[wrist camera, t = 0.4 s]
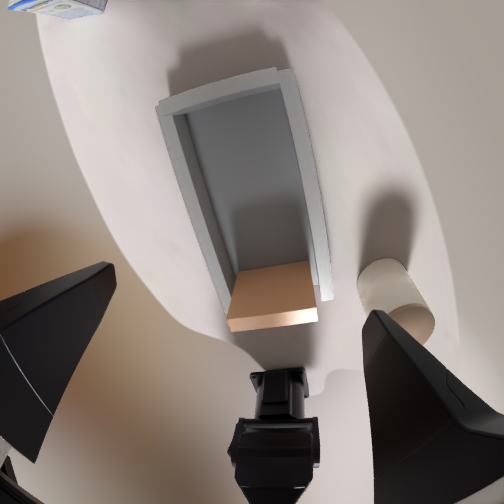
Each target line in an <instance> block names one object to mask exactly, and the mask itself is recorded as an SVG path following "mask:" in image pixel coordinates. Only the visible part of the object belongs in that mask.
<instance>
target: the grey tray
mask: <svg viewBox="0 0 504 504" xmlns="http://www.w3.org/2000/svg"><path fill="white" fill-rule="evenodd" d="M155 109H156V112H157V116H158V119H159V123H160V126H161V130H162V133H163V136H164V140H165V143H166V146H167V150H168V153H169V156H170V159H171V162H172V166H173V169H174V172H175V175H176V178H177V181H178V184H179V187H180V190H181V193H182V197H183V200H184V202H185V205H186V208H187V211H188V214H189V217H190V220H191V223H192V226H193V229H194V232H195V234H196V237H197V240H198V243H199V246H200V248H201V251H202V254H203V257H204V259H205V262H206V265H207V268H208V270H209V273H210V276H211V278H212V281H213V284H214V286H215V289H216V291H217V294H218V297H219V299H220V302H221V304H222V307H223V310H224V312H225V315H227V314H228V310H229V306H230V302H231V298H232V294H233V290H234V286H235V282H236V278H237V274H238V272H240V271H247V270H253V269H259V268H265V267H271V266H277V265H283V264H289V263H295V262H301V261H307V260H309V263H310V269H311V275H312V282H313V285H317V284H319V289H320V294H321V300H322V301H327V300H333V299H334V294H333V284H332V275H331V266H330V257H329V249H328V242H327V234H326V227H325V221H324V214H323V208H322V201H321V195H320V189H319V184H318V178H317V173H316V167H315V162H314V157H313V152H312V147H311V142H310V138H309V133H308V128H307V124H306V120H305V115H304V111H303V107H302V103H301V99H300V95H299V91H298V87H297V83H296V79H295V75H294V72H293V68H289V69H283V70H278V71H277V69H276V67H271V68H266V69H262V70H257V71H253V72H249V73H244V74H240V75H237V76H233V77H229V78H225V79H222V80H218V81H215V82H212V83H208V84H205V85H202V86H199V87H196V88H193V89H190V90H187V91H184V92H182V93H179V94H176V95H173V96H171V97H168V98H165V99H163V100H160V101H159V105H158V106H156V107H155Z"/></svg>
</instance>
